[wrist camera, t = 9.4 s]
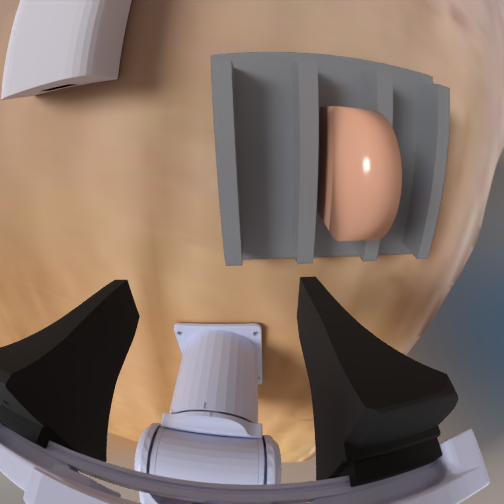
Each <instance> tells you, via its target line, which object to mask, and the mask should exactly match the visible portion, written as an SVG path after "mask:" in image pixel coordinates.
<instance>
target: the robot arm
mask: <svg viewBox="0 0 504 504" xmlns="http://www.w3.org/2000/svg"><path fill="white" fill-rule="evenodd" d="M138 320H139V313H138V311H137V308H136V305H135V302H134V299H133V296H132V293H131V290H130V287H129V284H128V281H127V280H114V281H113V282H111V283H109V284H108V285H106V286H105V287H103V288H102V289H101V290H99V291H98V292H97V293H95V294H94V295H93V296H91V297H90V298H89V299H87V300H86V301H85V302H83V303H82V304H81V305H79V306H78V307H76V308H75V309H74V310H72V311H71V312H69V313H68V314H67V315H65V316H64V317H62V318H61V319H59V320H58V321H56V322H55V323H53V324H51V325H50V326H48V327H46V328H44V329H43V330H41V331H39V332H37V333H35V334H33V335H31V336H29V337H27V338H25V339H22V340H20V341H18V342H15V343H13V344H10V345H7V346H4V347H1V348H0V471H1V472H2V473H3V474H4V475H5V476H7V477H8V478H9V479H10V480H11V481H12V482H14V483H15V484H16V485H17V486H19V487H20V488H21V489H23V490H24V491H25V493H24V497H23V499H24V501H25V503H26V504H140V503H136V502H133V501H130V500H126V499H123V498H120V496H121V495H120V494H119V493H118V492H115V491H113V490H111V489H108V488H106V487H105V486H103V485H101V484H99V483H97V482H96V481H94V480H93V479H91V478H88V477H86V476H84V475H82V474H80V473H79V472H78V471H80V472H82V473H85V474H87V475H90V476H92V477H95V478H98V479H101V480H104V481H106V482H109V483H113V484H116V485H119V486H122V487H126V488H129V489H133V490H137V491H139V494H140V502H141V504H297V503H298V504H458V503H460V502H462V501H463V500H465V499H467V498H468V497H470V496H472V495H473V494H475V493H476V492H478V491H479V490H481V489H483V488H484V487H486V486H487V485H489V483H490V480H489V476H488V473H487V470H486V467H485V464H484V461H483V457H482V455H481V452H480V449H479V446H478V443H477V441H476V438H475V436H474V433H473V430H472V429H468V430H466V431H464V432H462V433H459V434H458V435H455V436H453V437H451V438H449V439H447V440H445V441H443V442H441V443H440V444H439V442H438V439H437V437H438V436H439V435H440V430H439V427H438V425H439V424H440V423H441V422H442V421H443V420H444V419H445V418H446V417H447V416H448V414H449V413H450V412H451V411H452V410H453V409H454V407H455V406H456V403H457V401H458V395H457V393H456V392H455V389H454V387H453V385H452V383H451V381H450V379H449V377H448V376H447V374H445V373H442V372H440V371H438V370H435V369H433V368H430V367H428V366H425V365H423V364H421V363H419V362H417V361H415V360H413V359H411V358H409V357H407V356H405V355H404V354H402V353H400V352H398V351H397V350H395V349H394V348H392V347H391V346H389V345H387V344H386V343H384V342H383V341H381V340H380V339H379V338H377V337H376V336H375V335H373V334H372V333H371V332H369V331H368V330H367V329H366V328H364V327H363V326H362V325H361V324H360V323H358V322H357V321H356V320H355V319H354V318H353V317H352V316H351V315H350V314H349V313H348V312H347V311H346V310H345V309H344V308H343V307H342V306H341V305H340V304H339V303H338V302H337V301H336V300H335V299H334V297H333V296H332V295H331V294H330V293H329V292H328V291H327V290H326V288H325V287H324V286H323V285H322V284H321V282H320V281H319V280H318V279H317V278H316V277H300V285H299V298H298V311H297V321H298V330H299V338H300V343H301V347H302V351H303V356H304V360H305V364H306V369H307V373H308V377H309V382H310V387H311V394H312V403H313V414H314V427H315V444H316V481H309V482H300V483H287V484H281V455H280V449H279V446H278V444H277V442H276V441H274V440H273V438H272V437H271V436H269V435H263V436H262V424H259V423H258V385H261V384H262V332H261V325H260V324H257V323H247V324H199V323H176V324H175V325H174V331H175V334H176V337H177V341H178V344H179V347H180V350H181V353H182V360H181V364H180V368H179V373H178V377H177V381H176V385H175V390H174V394H173V399H172V403H171V408H170V412H169V413H163V416H162V421H161V424H160V423H152V424H151V425H150V426H149V427H148V428H146V429H145V430H144V431H143V433H142V434H141V436H140V439H139V442H138V445H137V449H136V455H135V470H131V469H127V468H123V467H120V466H116V465H113V464H109V463H106V447H107V431H108V421H109V414H110V408H111V403H112V398H113V394H114V389H115V385H116V382H117V379H118V376H119V373H120V370H121V368H122V365H123V363H124V360H125V358H126V355H127V353H128V351H129V348H130V346H131V343H132V341H133V338H134V335H135V332H136V328H137V324H138ZM179 331H180V332H179ZM254 332H258V333H254ZM306 502H310V503H306Z"/></svg>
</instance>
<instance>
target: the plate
mask: <svg viewBox="0 0 504 504" xmlns="http://www.w3.org/2000/svg"><path fill="white" fill-rule="evenodd" d="M401 188H402V164H401V156H400V150H399V146H398V142H397V139H396V136H395V133H394V131H393V128H392V126H391V125H390V123H389V121H388V120H387V119H386V117H385V116H384V115H383V114H381V113H380V112H378V111H375V110H368V109H360V108H352V107H341V106H330V107H321V155H320V187H319V208H318V213H319V215H320V216H321V218H322V220H323V221H324V223H325V225H326V227H327V228H328V230H329V231H330V233H331V235H332V237H333V238H334V239H335V240H337V241H373V240H379V239H381V238H382V237H384V236H385V235H386V234H387V232H388V231H389V229H390V228H391V226H392V224H393V222H394V219H395V217H396V214H397V210H398V207H399V202H400V196H401Z"/></svg>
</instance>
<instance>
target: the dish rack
mask: <svg viewBox="0 0 504 504" xmlns="http://www.w3.org/2000/svg"><path fill="white" fill-rule="evenodd" d="M211 77H212V98H213V116H214V133H215V148H216V163H217V176H218V189H219V201H220V213H221V225H222V236H223V246H224V257H225V261H226V266H237V265H242V260H243V259H264V258H296V262H297V264H306V263H313V257H330V256H360V258H361V259H362V261H376V260H377V255H388V254H413V255H414V256H415V257H416V258H417V259H425V258H428V256H429V252H430V248H431V244H432V240H433V236H434V232H435V227H436V223H437V218H438V213H439V208H440V203H441V197H442V191H443V185H444V178H445V170H446V162H447V152H448V139H449V120H450V88H448V87H445V86H442V85H439V84H433V77H432V76H429V75H426V74H423V73H419V72H416V71H412V70H408V69H404V68H401V67H396V66H392V65H388V64H383V63H378V62H373V61H368V60H362V59H356V58H349V57H342V56H334V55H324V54H313V53H296V52H246V53H229V54H217V55H211ZM330 106H341V107H352V108H360V109H368V110H375V111H378V112H380V113H381V114H383V115H384V116H385V117H386V119H387V120H388V121H389V123H390V125H391V126H392V128H393V131H394V133H395V136H396V139H397V142H398V146H399V150H400V156H401V164H402V188H401V196H400V202H399V207H398V210H397V214H396V217H395V219H394V222H393V224H392V226H391V228H390V229H389V231H388V232H387V234H386V235H385V236H384V237H382V238H381V239H379V240H373V241H337V240H335V239H334V238H333V237H332V235H331V233H330V231H329V230H328V228H327V227H326V225H325V223H324V221H323V220H322V218H321V216H320V215H319V213H318V208H319V187H320V155H321V107H330Z"/></svg>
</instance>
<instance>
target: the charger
mask: <svg viewBox="0 0 504 504" xmlns="http://www.w3.org/2000/svg"><path fill="white" fill-rule="evenodd" d="M131 2H132V0H21V1H20V3H19V7H18V10H17V13H16V16H15V20H14V24H13V27H12V31H11V36H10V40H9V45H8V50H7V55H6V61H5V67H4V75H3V83H2V94H1V100H5V99H12V98H20V97H28V96H34V95H39V94H42V93H46V92H50V91H42V90H46V89H50V88H54V87H58V86H62V85H67V84H78V85H84V84H90V83H96V82H102V81H109V80H116V79H118V73H119V65H120V58H121V51H122V45H123V39H124V34H125V29H126V24H127V19H128V15H129V10H130V6H131ZM78 85H73V86H78ZM73 86H68V87H73ZM68 87H64V88H68ZM59 89H63V88H59ZM59 89H55V90H59ZM55 90H51V91H55Z"/></svg>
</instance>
